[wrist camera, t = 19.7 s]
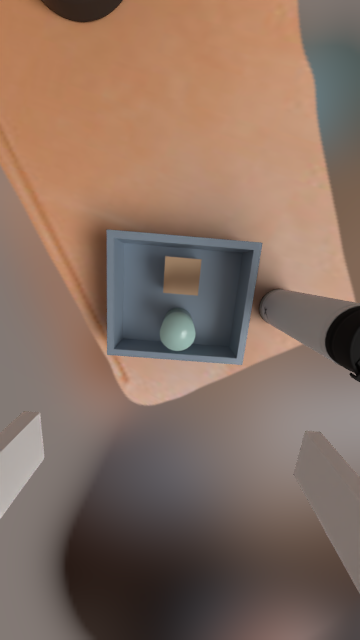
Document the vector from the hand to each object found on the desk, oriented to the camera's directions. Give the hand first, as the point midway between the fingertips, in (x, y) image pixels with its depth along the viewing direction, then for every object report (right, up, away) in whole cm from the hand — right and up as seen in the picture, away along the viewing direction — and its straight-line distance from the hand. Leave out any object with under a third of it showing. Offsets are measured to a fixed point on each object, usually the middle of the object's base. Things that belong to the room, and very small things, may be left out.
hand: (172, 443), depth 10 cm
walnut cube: (+1, +14, +23) cm, 27 cm away
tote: (0, +10, +25) cm, 27 cm away
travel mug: (+17, +8, +26) cm, 32 cm away
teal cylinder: (0, +6, +25) cm, 26 cm away
